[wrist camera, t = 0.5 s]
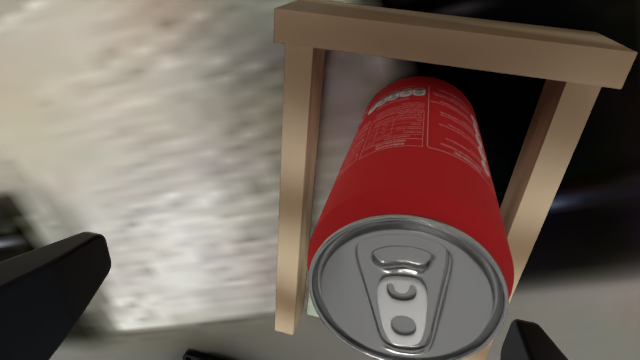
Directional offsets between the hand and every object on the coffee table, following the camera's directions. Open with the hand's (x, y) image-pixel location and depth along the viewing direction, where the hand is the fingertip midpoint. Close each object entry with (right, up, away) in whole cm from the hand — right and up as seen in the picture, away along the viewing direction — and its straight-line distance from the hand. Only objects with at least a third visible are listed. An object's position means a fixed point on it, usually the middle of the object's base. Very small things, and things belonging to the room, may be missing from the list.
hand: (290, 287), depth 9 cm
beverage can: (+5, +5, +11) cm, 14 cm away
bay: (+5, +1, +14) cm, 15 cm away
